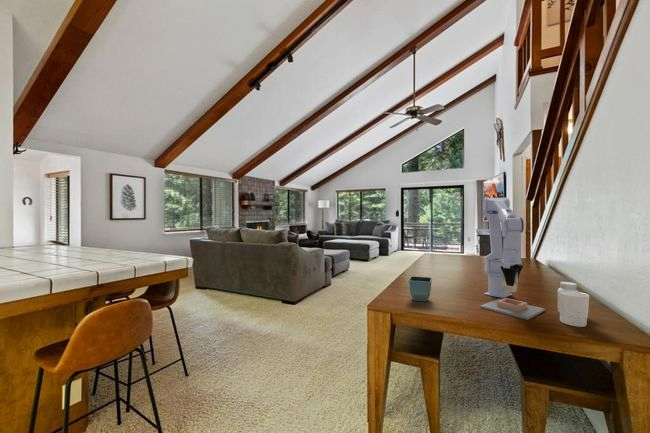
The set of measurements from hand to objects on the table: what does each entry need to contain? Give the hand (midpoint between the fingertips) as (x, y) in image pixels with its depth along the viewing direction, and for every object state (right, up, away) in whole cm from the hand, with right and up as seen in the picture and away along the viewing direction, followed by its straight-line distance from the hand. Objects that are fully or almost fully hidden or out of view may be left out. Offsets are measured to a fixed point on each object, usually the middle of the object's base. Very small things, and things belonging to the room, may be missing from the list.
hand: (511, 284), depth 111 cm
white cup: (+11, -10, -14) cm, 21 cm away
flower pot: (-31, -10, +12) cm, 35 cm away
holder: (0, -9, 0) cm, 9 cm away
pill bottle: (+18, -10, -4) cm, 21 cm away
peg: (0, -2, 0) cm, 2 cm away
